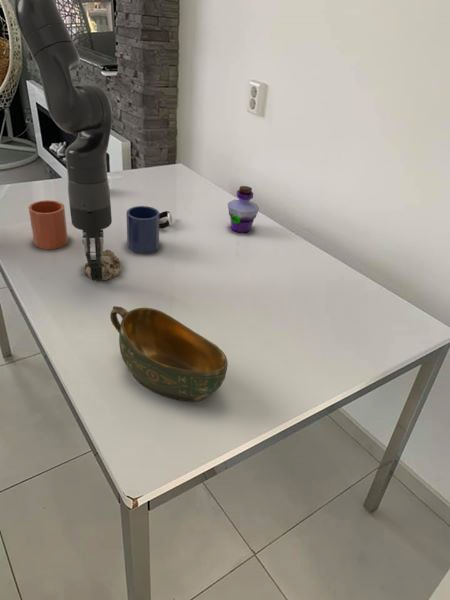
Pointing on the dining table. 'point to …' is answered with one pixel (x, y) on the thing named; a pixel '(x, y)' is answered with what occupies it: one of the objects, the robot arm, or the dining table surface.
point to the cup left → (48, 224)
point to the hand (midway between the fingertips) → (97, 278)
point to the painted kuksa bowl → (168, 354)
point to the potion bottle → (242, 210)
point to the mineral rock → (107, 265)
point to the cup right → (143, 229)
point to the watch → (168, 222)
